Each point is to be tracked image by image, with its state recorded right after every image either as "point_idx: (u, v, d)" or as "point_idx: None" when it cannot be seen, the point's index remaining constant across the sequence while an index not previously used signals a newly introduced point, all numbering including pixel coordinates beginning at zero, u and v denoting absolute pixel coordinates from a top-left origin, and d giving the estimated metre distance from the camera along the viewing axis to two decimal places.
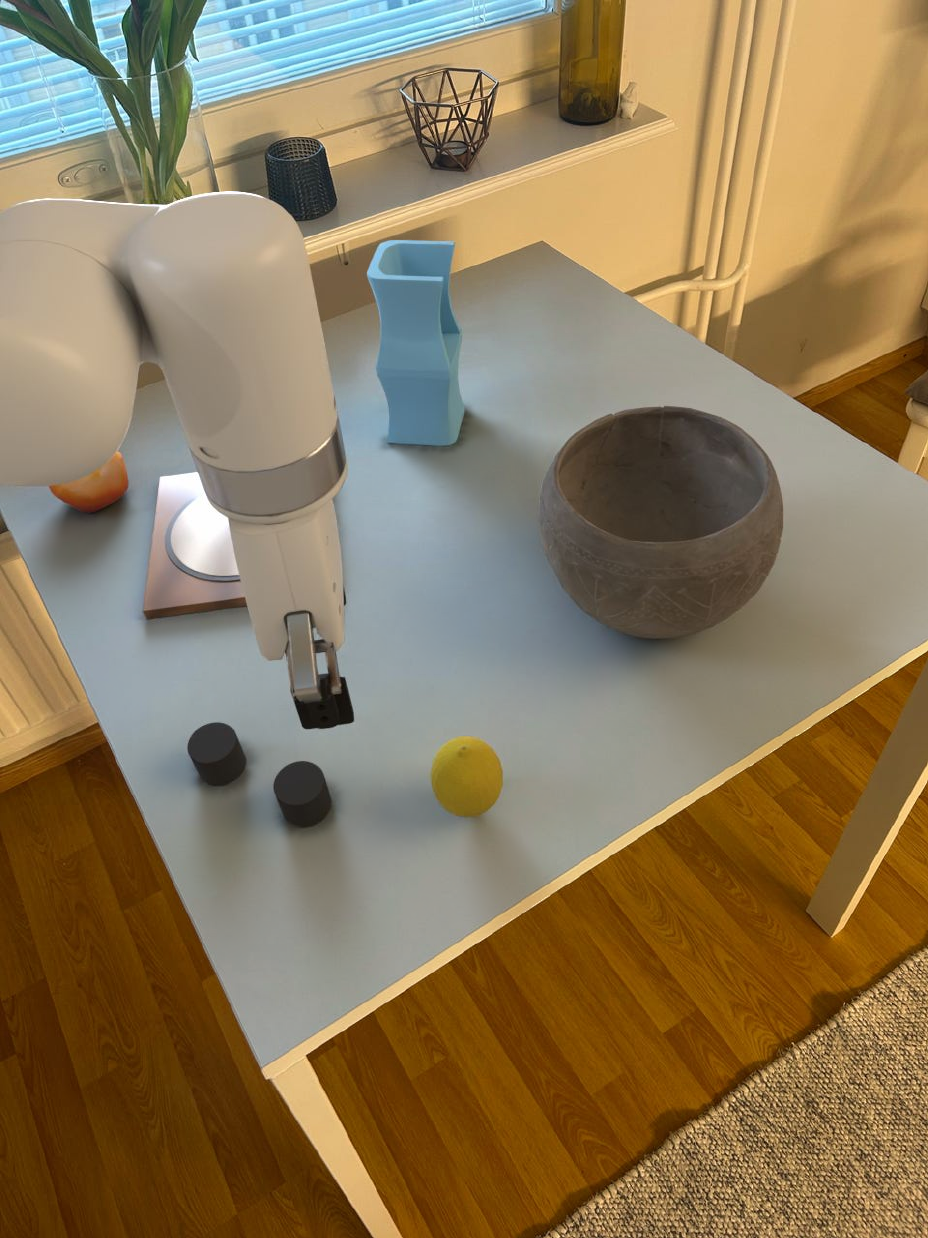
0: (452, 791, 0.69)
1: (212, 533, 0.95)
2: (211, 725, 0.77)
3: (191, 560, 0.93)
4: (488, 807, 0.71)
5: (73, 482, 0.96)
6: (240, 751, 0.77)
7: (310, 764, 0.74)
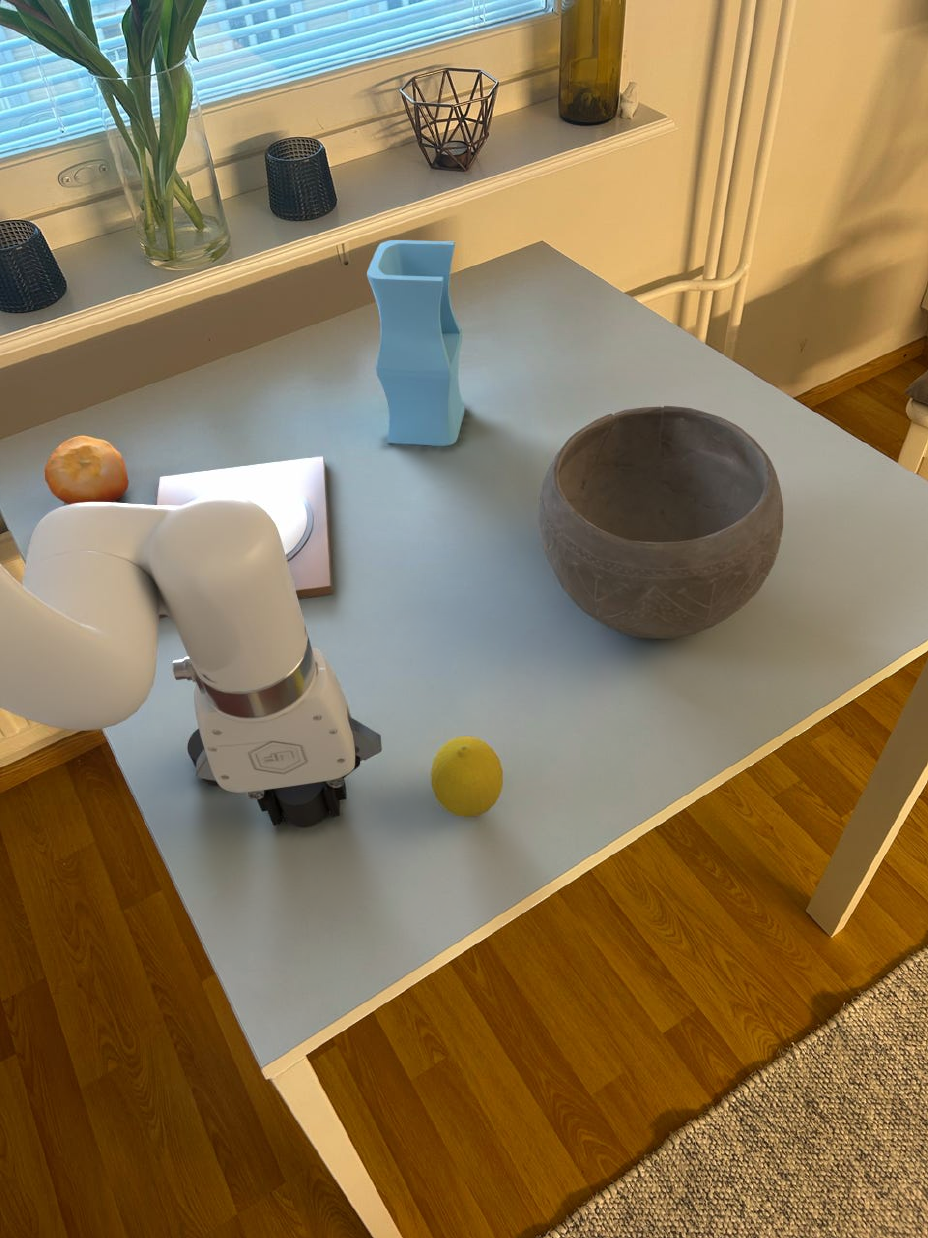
0: (452, 791, 0.69)
1: None
2: None
3: None
4: (488, 807, 0.71)
5: (73, 482, 0.96)
6: None
7: None
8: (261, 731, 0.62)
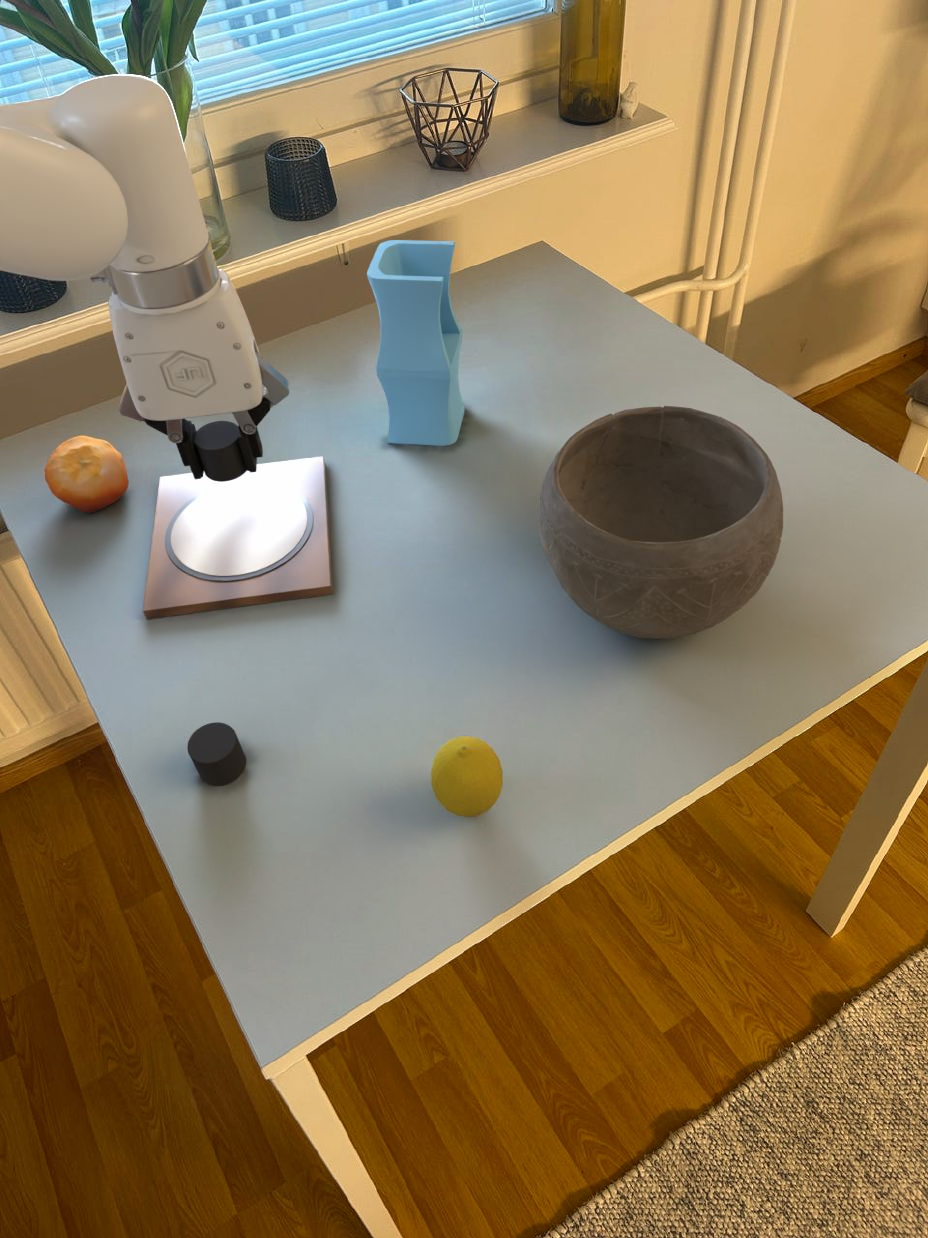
0: (452, 791, 0.69)
1: (212, 533, 0.95)
2: (211, 725, 0.77)
3: (191, 560, 0.93)
4: (488, 807, 0.71)
5: (73, 482, 0.96)
6: (240, 751, 0.77)
7: (228, 422, 0.80)
8: (170, 336, 0.69)
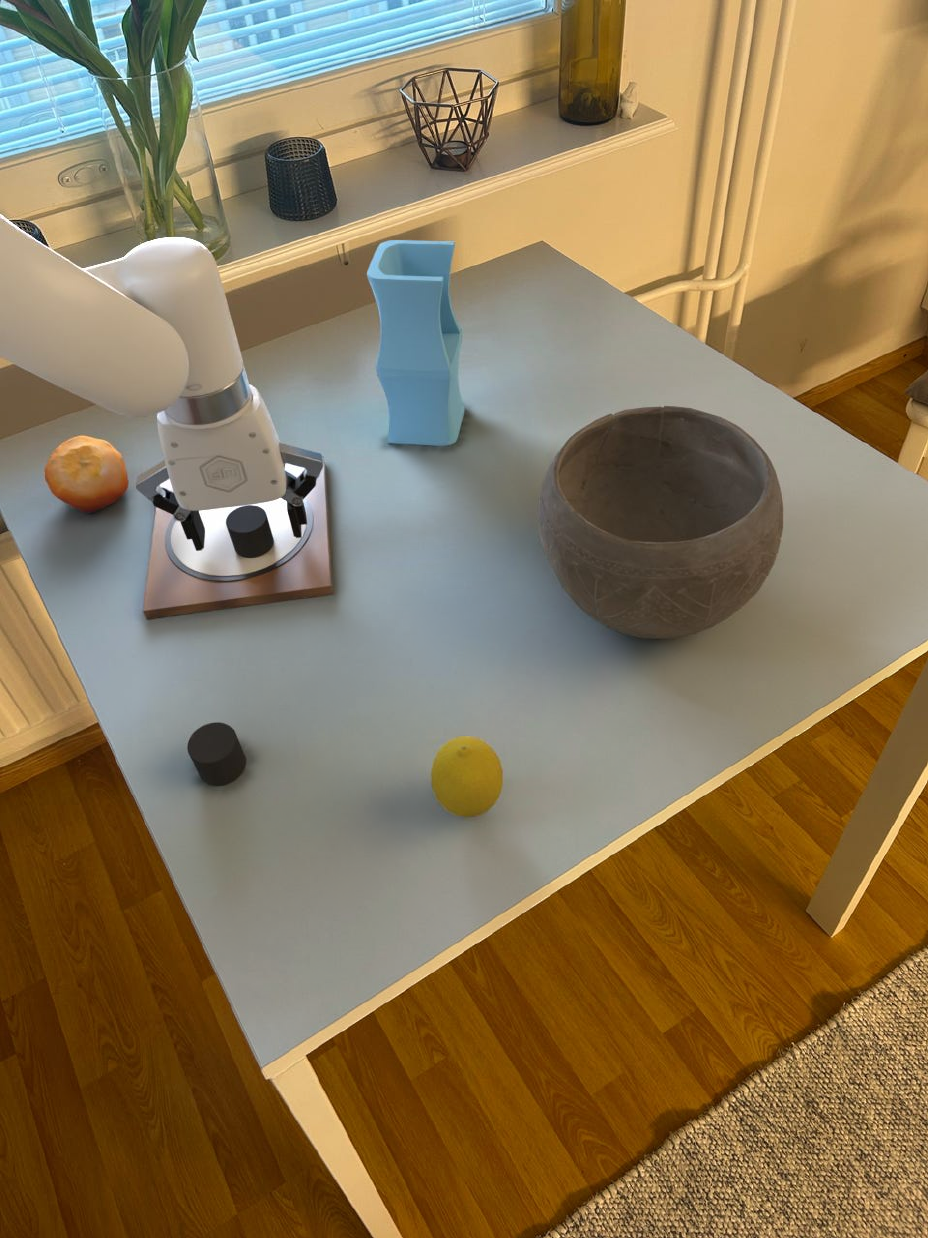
0: (452, 791, 0.69)
1: (212, 533, 0.95)
2: (211, 725, 0.77)
3: (191, 560, 0.93)
4: (488, 807, 0.71)
5: (73, 482, 0.96)
6: (240, 751, 0.77)
7: (256, 507, 0.92)
8: (209, 445, 0.81)
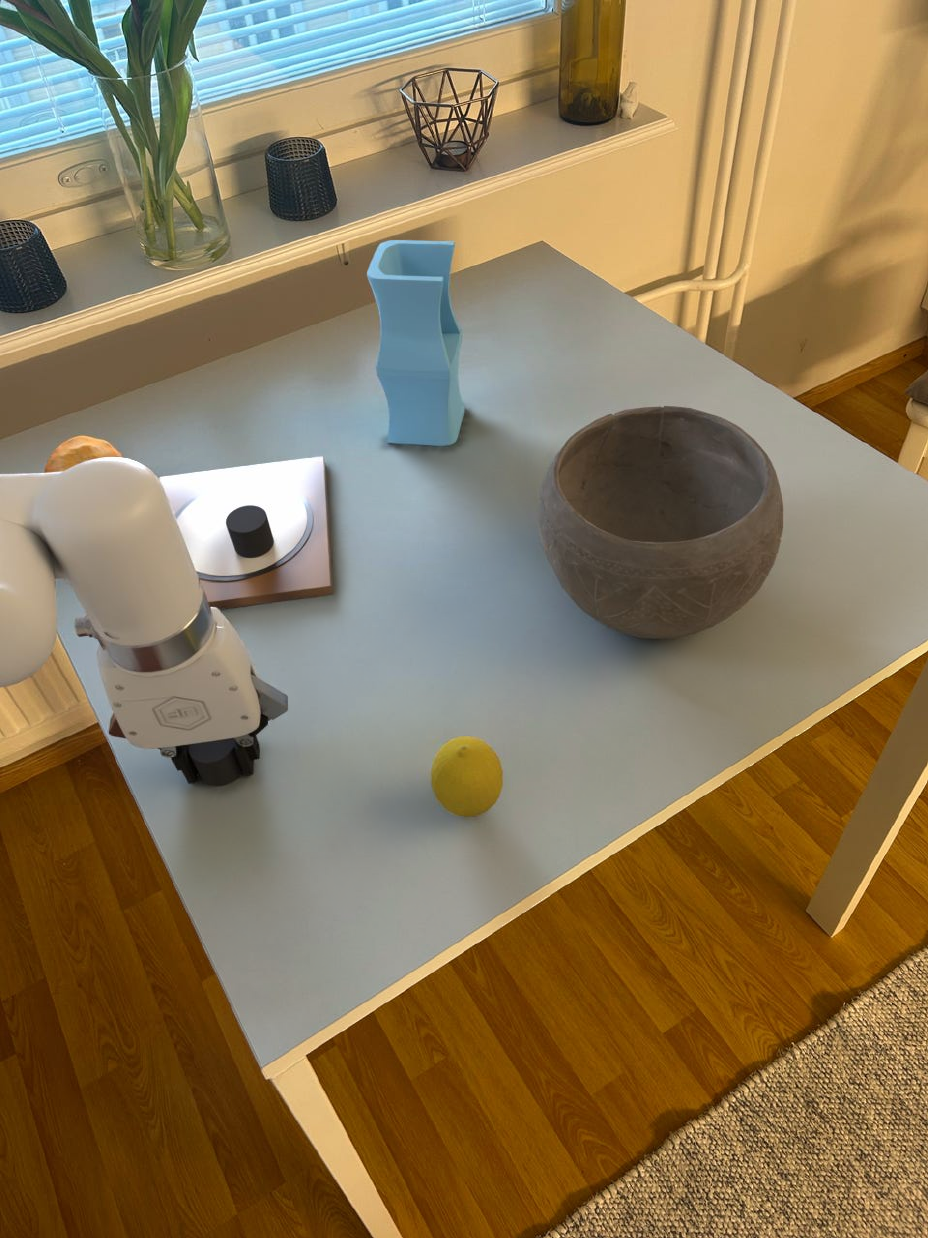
0: (452, 791, 0.69)
1: (212, 533, 0.95)
2: None
3: None
4: (488, 807, 0.71)
5: None
6: None
7: (256, 507, 0.92)
8: (162, 687, 0.65)
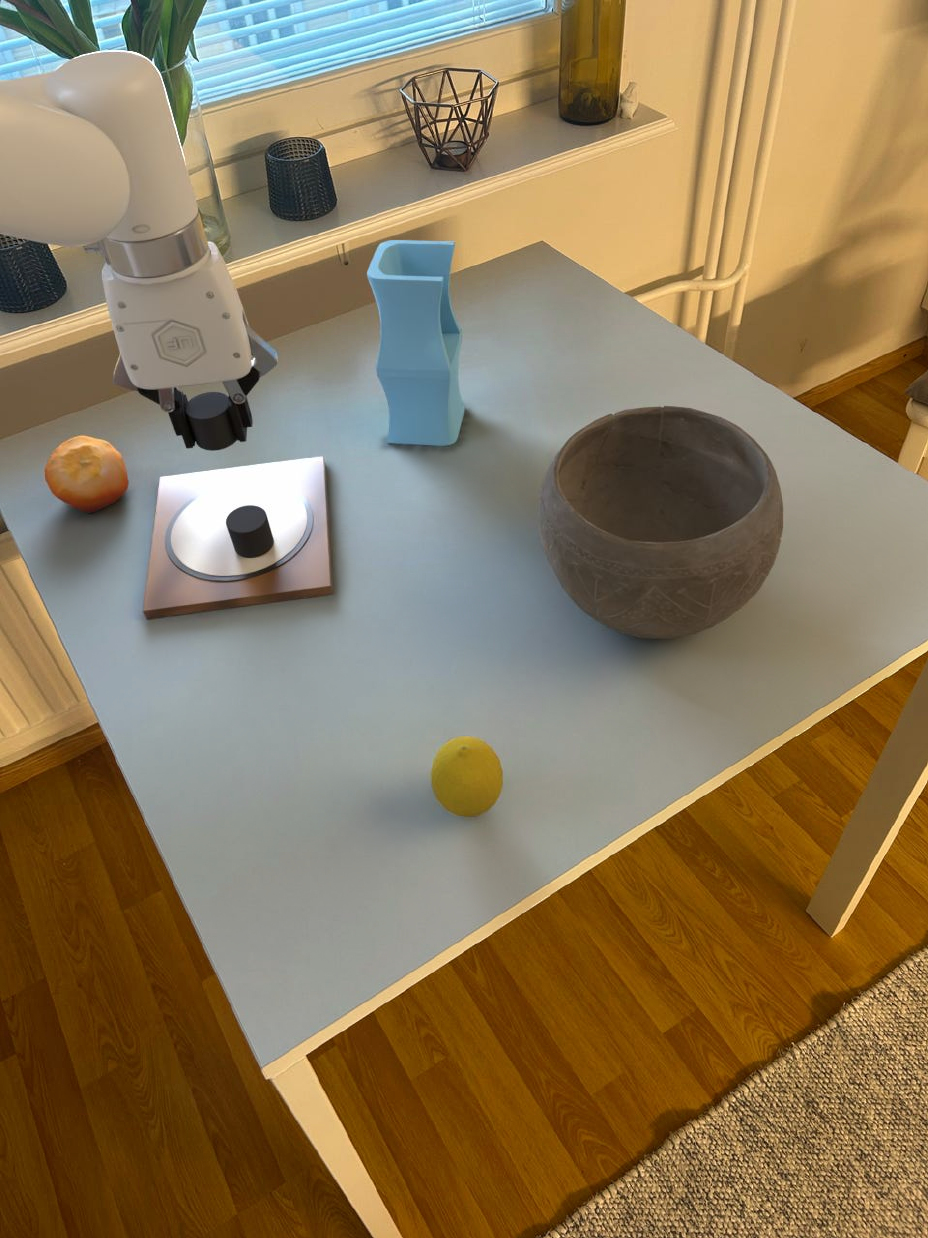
0: (452, 791, 0.69)
1: (212, 533, 0.95)
2: (207, 393, 0.83)
3: (191, 560, 0.93)
4: (488, 807, 0.71)
5: (73, 482, 0.96)
6: None
7: (256, 507, 0.92)
8: (161, 306, 0.72)
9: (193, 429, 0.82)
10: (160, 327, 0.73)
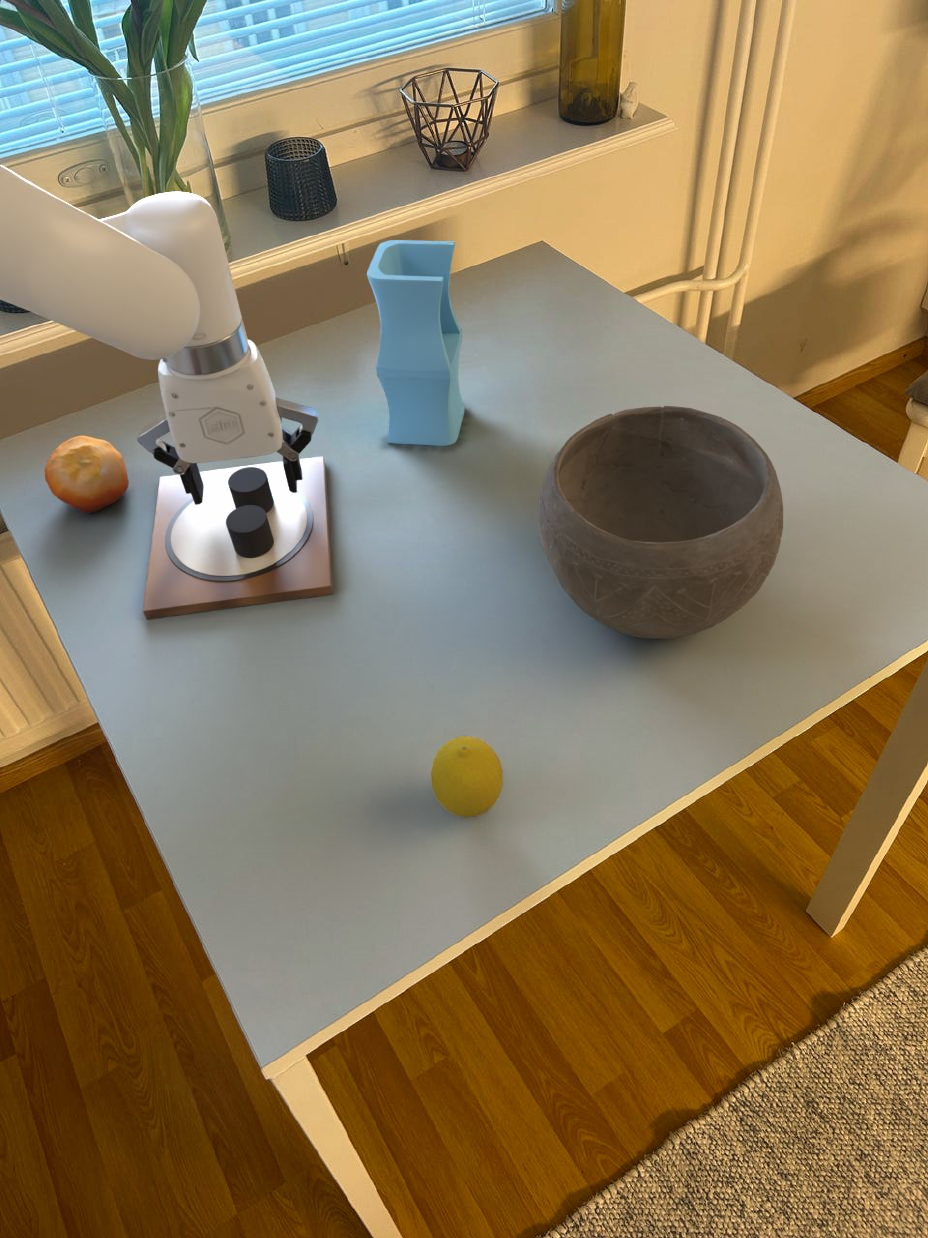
0: (452, 791, 0.69)
1: (212, 533, 0.95)
2: (246, 468, 0.96)
3: (191, 560, 0.93)
4: (488, 807, 0.71)
5: (73, 482, 0.96)
6: (269, 489, 0.96)
7: (256, 507, 0.92)
8: (208, 396, 0.84)
9: (235, 500, 0.95)
10: (206, 413, 0.85)
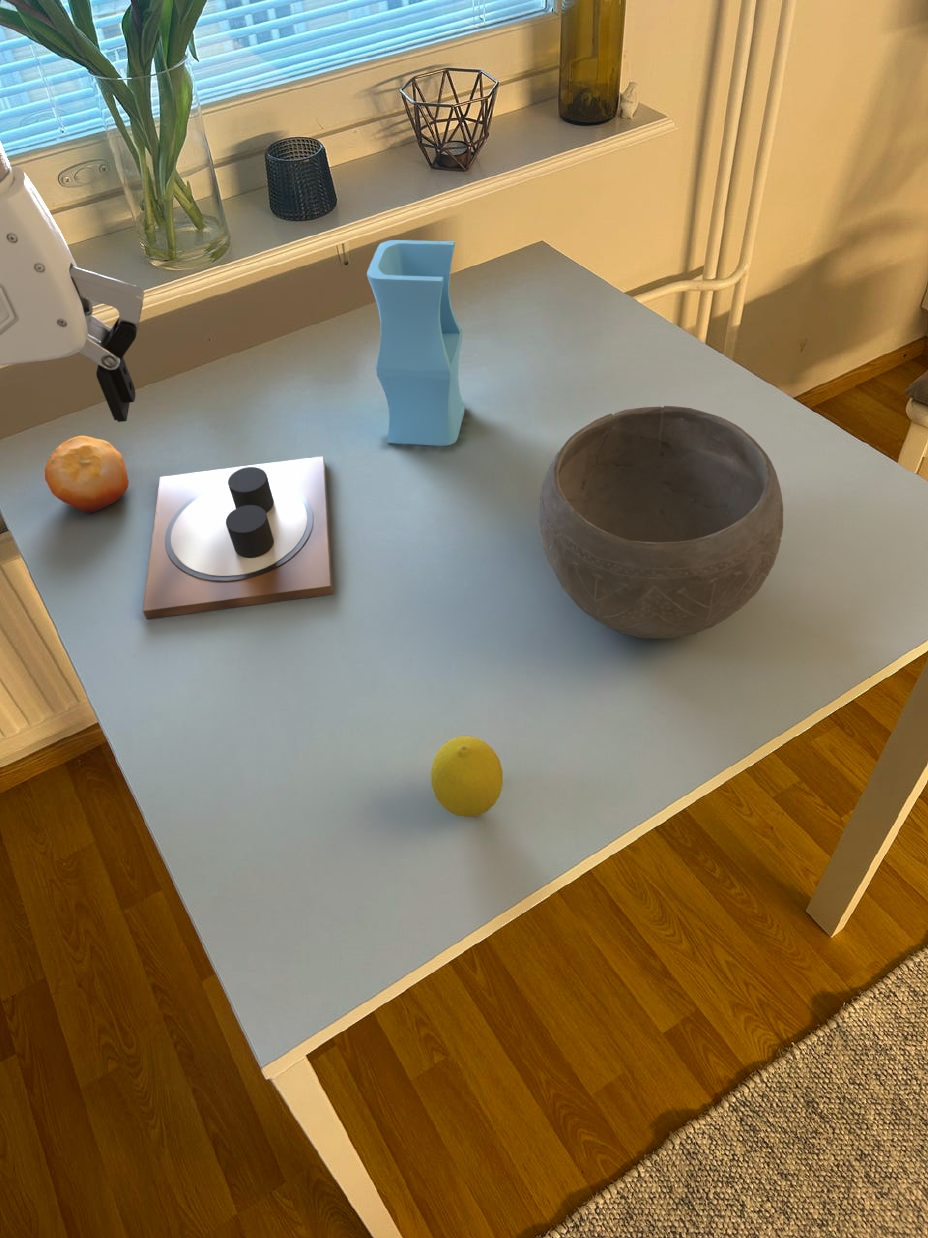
0: (452, 791, 0.69)
1: (212, 533, 0.95)
2: (246, 468, 0.96)
3: (191, 560, 0.93)
4: (488, 807, 0.71)
5: (73, 482, 0.96)
6: (269, 489, 0.96)
7: (256, 507, 0.92)
8: None
9: (235, 500, 0.95)
10: None
